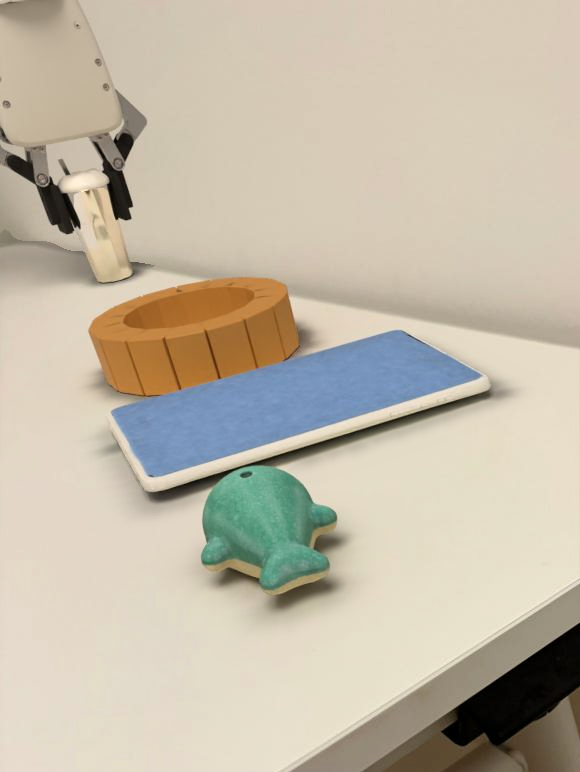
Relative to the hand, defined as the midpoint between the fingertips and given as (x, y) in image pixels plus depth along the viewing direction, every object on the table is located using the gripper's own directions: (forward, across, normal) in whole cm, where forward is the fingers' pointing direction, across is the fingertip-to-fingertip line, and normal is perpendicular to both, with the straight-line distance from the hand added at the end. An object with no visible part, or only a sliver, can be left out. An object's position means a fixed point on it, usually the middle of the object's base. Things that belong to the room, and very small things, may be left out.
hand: (95, 223), depth 83 cm
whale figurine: (+5, +11, +62) cm, 63 cm away
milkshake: (+5, 0, 0) cm, 5 cm away
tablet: (+5, +3, +47) cm, 47 cm away
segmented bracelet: (+5, +3, +32) cm, 33 cm away
